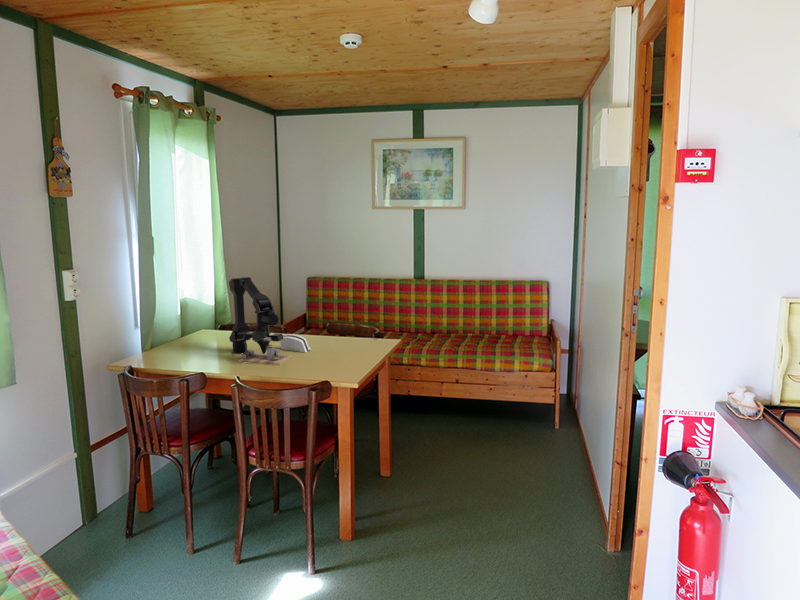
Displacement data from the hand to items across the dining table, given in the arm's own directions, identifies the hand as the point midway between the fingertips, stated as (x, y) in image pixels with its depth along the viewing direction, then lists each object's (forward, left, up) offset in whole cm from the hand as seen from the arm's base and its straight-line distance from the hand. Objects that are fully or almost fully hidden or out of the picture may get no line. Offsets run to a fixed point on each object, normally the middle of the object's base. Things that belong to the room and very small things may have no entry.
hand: (264, 353), depth 279 cm
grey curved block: (+6, +25, -4) cm, 26 cm away
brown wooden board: (-1, +3, -4) cm, 5 cm away
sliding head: (+4, +3, -3) cm, 5 cm away
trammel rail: (-1, +3, -3) cm, 4 cm away
